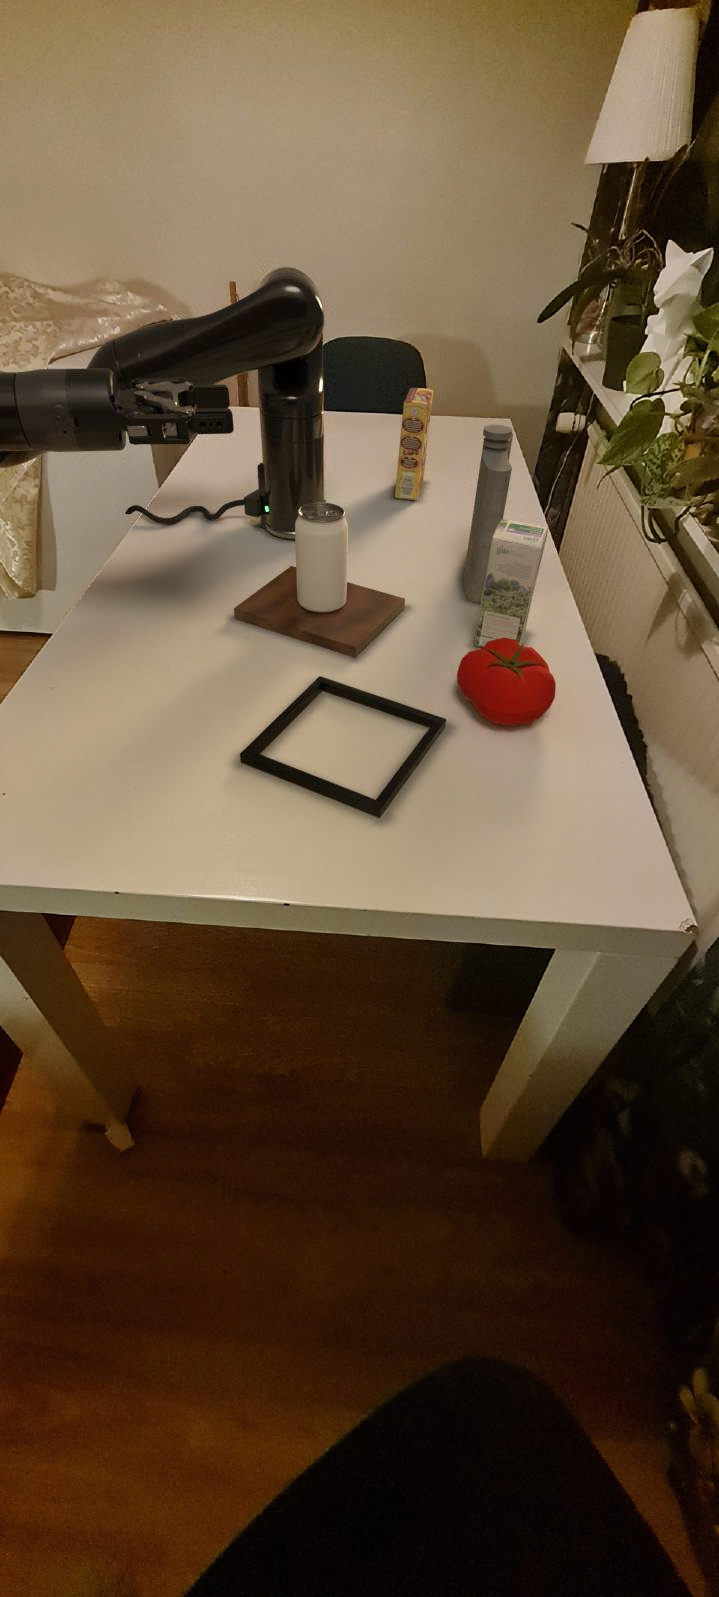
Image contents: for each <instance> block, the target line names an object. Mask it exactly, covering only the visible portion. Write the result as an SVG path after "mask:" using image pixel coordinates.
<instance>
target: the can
mask: <svg viewBox="0 0 719 1597" xmlns="http://www.w3.org/2000/svg"><path fill="white" fill-rule="evenodd" d="M345 513H346V512H345V509H344V508H343V507H341V506H340V505H338V504H335V503H332V502H326V503H324V502H317V503H310V504H306V505H304V506H302V507H301V508H299V510H298V514H299V516H298V518H297V520H296V523H295V539H294V540H295V567H296V577H297V599H298V603H299V604H300V605H301V606H302V607H303V608H304V609H305V610H307V611H310V612H313V613H331V612H335V611H337V610H339V609H341V608H342V607H343V605H344V604H345V603H346V594H347V582H348V553H349V552H348V547H349V545H348V544H349V526H348V521H347V519H346V516H345Z"/></svg>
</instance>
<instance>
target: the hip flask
mask: <svg viewBox="0 0 719 1597" xmlns="http://www.w3.org/2000/svg"><path fill="white" fill-rule="evenodd" d="M482 435H483V443H482V449H481V456H480V464H479V470H478V476H477V484H476V491H475V497H474V505H473V510H472V511H473V512H472V518H471V525H470V531H469V539H468V546H467V550H466V558H465V566H464V572H463V591H464V594H465V597H466V599H467V600H468V601H469V602H472V603H475V604H476V603H477V604H481V602H482V596H483V590H484V584H485V579H486V573H487V567H488V561H489V555H490V549H491V543H492V539H493V535H494V533H495V531H496V529H497V526H498V525H499V523H500V521H501V519H504V516H505V509H506V504H507V499H508V493H509V487H510V482H511V475H512V471H513V467H512V465H511V463H510V456H511V450H512V444H513V439H514V434H513V429H512V428H511V427H509V426H507V425H503V424H488V425H485V426H484V427H483V432H482Z"/></svg>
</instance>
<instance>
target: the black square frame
mask: <svg viewBox="0 0 719 1597" xmlns="http://www.w3.org/2000/svg"><path fill="white" fill-rule="evenodd" d="M322 692H325V693H329V694H331V695H334V696H337V697H339V698H343V699H345V700H349V701H351V702H354V703H357V704H359V705H363V706H366V707H369V708H372V709H375V710H377V711H380V712H383V713H386V714H389V715H392V716H394V717H397V718H401V719H403V720H406V721H409V722H412V723H414V724H418V725H421V726H423V727H427V728H428V729H427V731H426V732H425V733H424V735H423V736H422V737H421V738H420V739H419V741H418V742H417V744H416V745H415V747H414V748H413V750H412V751H411V752H410V753H409V754H408V755H407V757H406V759H405V760H404V761H403V763H402V764H401V765H400V766H399V768H398V770H396V772H395V773H394V775H393V776H392V777H391V779H390V780H389V781H388V783H387V784H386V785H385V787H384V788H383V789H382V790H381V792H380V793H379V795H378V796H377V797H376V798H373V797H370V796H368V795H365V794H363V793H360V792H358V791H355V790H352V789H350V788H347V787H345V786H342V785H339V784H336V783H334V782H332V781H329V780H327V779H324V778H321V777H319V776H317V775H314V774H312V773H309V772H307V771H305V770H301V769H299V768H296V767H294V766H292V765H288V764H286V763H284V762H281V761H278V760H276V759H273V758H271V757H268V756H266V755H263V754H262V752H263V751H265V749H266V748H268V746H269V745H270V744H271V743H272V742H273V741H274V740H275V739H277V737H279V735H280V734H282V732H284V730H285V729H286V728H287V727H289V725H291V723H292V722H293V721H294V720H295V719H296V718H298V716H299V715H300V714H301V713H303V711H304V710H305V709H306V708H308V706H309V705H310V704H312V702H313V701H314V700H315V699H316V698H317V697H318V696H319V695H320V694H321V693H322ZM446 724H447V718H445V717H442V716H439V715H436V714H433V713H430V712H427V711H424V710H421V709H419V708H415V707H412V706H410V705H406V704H404V703H400V702H398V701H394V700H391V699H389V698H386V697H383V696H380V695H378V694H375V693H372V692H368V691H366V690H363V689H361V688H360V689H359V688H356V687H353V686H351V685H348V684H344V683H342V682H340V681H336V680H333V679H330V678H327V677H324V676H320V675H319V676H318V677H317V678H316V679H315V680H313V682H311V684H310V685H308V686H307V688H305V690H304V691H302V693H300V694H299V695H298V696H297V697H296V698H295V699H294V700H293V701H292V702H291V703H290V704H289V705H288V706H287V707H286V708H285V709H284V710H283V711H282V712H281V713H280V714H279V715H278V716H277V717H276V718H274V719H273V721H271V723H270V724H269V725H268V726H267V727H266V728H264V730H262V731H261V732H260V734H259V735H258V736H256V737H255V738H254V739H253V740H252V741H251V742H250V743H249V744H248V745H247V746H246V747H245V748H244V749H243V750H242V751H241V752H240V753H239V758H240V760H239V761H240V763H241V764H243V765H247V766H249V767H251V768H254V769H256V770H259V771H261V772H264V773H266V774H269V775H270V776H271V775H272V776H274V777H275V778H276V777H277V778H279V779H281V780H284V781H286V782H288V783H291V784H294V785H295V786H299V787H301V788H304V789H306V790H308V791H311V792H314V793H316V794H319V795H321V796H323V797H326V798H329V799H331V800H333V801H335V802H338V803H342V804H344V805H346V806H348V807H351V808H354V809H356V810H358V811H361V812H363V813H366V814H368V815H371V816H373V817H376V818H378V819H380V818H381V817H382V816H383V814H384V813H385V811H386V810H387V809H388V807H389V806H390V804H391V803H392V802H393V800H394V799H395V798H396V796H397V795H398V794H399V792H400V790H401V789H402V788H403V787H404V785H405V784H406V782H407V781H408V780H409V779H410V777H411V776H412V774H413V773H414V771H415V770H416V769H417V767H418V766H419V765H420V763H421V762H422V761H423V759H424V758H425V757H426V755H427V754H428V753H429V751H430V749H431V748H432V747H433V745H434V744H435V743H436V741H437V740H438V739H439V737H440V736H441V735H442V733H443V732H444V730H445V729H446V726H447V725H446Z"/></svg>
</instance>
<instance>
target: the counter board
mask: <svg viewBox="0 0 719 1597" xmlns="http://www.w3.org/2000/svg"><path fill="white" fill-rule="evenodd" d="M405 604H406V598H404V597H401V596H397V595H395V594H391V593H387V592H383V591H381V590H376V589H373V588H369V587H367V586H363V585H359V584H355V583H352V582H349V581H347V594H346V603H345V604H344V605H343V607H342V608H341V609H339V610H337V611H335V612H331V613H313V612H310V611H307V610H305V609H304V608H303V607H302V606H301V605H300V604H299V603H298V599H297V577H296V566H293V565H290V566H289V567H287V568H286V569H284V570H283V571H282V572H281V573H279V574H278V575H276V576H275V577H274V578H273V579H271V580H270V581H268V583H266V584H265V585H263V586H262V587H260V588H259V589H258V590H257V591H255V592H254V593H253V594H251V595H250V596H248V597H247V598H245V599H244V600H243V601H241V602H240V603H239V604H237V605H236V606H234V608H233V614H234V619H236V620H238V621H242V622H244V623H247V624H250V625H254V626H257V627H260V628H263V629H266V630H269V631H271V632H275V633H278V634H282V635H284V636H288V637H291V638H294V639H297V640H299V641H303V642H306V643H309V644H312V645H315V646H319V647H322V648H325V649H326V650H327V649H328V650H329V651H334V652H336V653H339V654H343V655H346V656H349V657H352V658H356V657H358V656H359V655H360V654H361V653H362V652H363V651H364V650H365V649H366V648H367V647H368V646H369V645H370V644H371V643H372V642H373V641H374V640H375V639H376V638H377V637H378V636H379V635H380V634H381V633H382V632H383V631H384V630H385V629H386V628H387V627H388V626H389V624H391V622H392V621H393V620H395V619H396V618H397V617H398V615H399V614H401V612H403V610H405V607H406V606H405Z"/></svg>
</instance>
